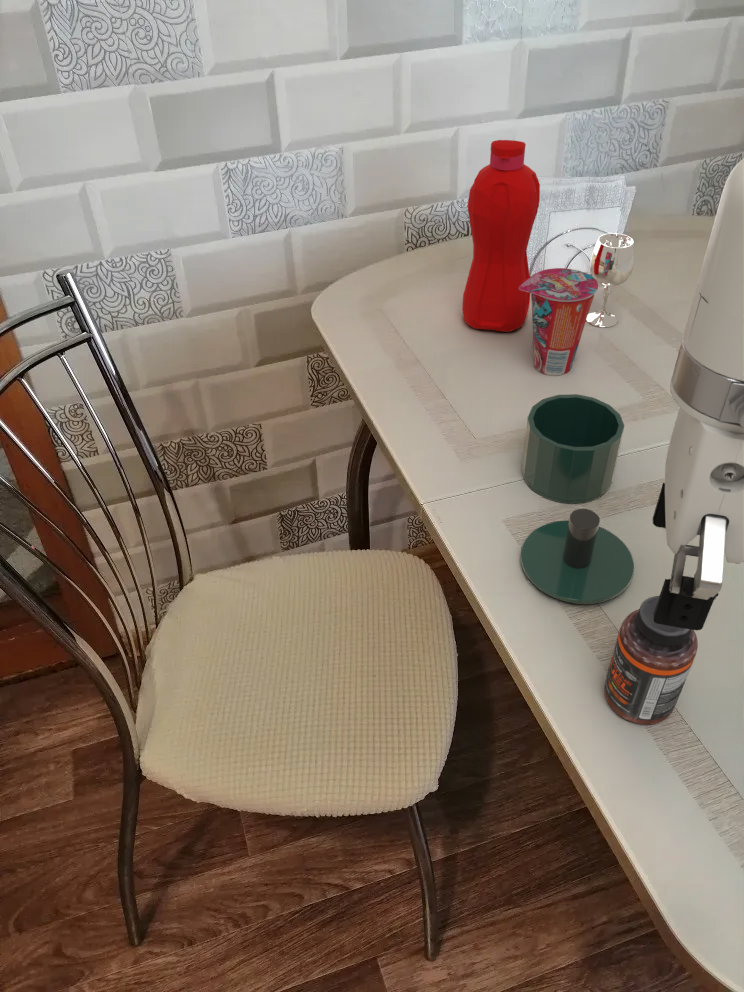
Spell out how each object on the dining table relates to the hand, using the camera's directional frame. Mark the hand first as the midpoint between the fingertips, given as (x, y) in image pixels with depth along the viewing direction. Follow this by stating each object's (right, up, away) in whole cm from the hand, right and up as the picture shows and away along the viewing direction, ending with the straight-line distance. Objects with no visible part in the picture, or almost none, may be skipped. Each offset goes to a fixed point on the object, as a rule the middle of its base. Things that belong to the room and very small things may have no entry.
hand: (674, 572), depth 58 cm
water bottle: (-4, +32, +59) cm, 68 cm away
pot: (0, +8, +32) cm, 33 cm away
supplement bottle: (+1, -12, +10) cm, 16 cm away
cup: (+2, +23, +49) cm, 54 cm away
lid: (-2, -1, +21) cm, 22 cm away
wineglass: (+11, +31, +58) cm, 66 cm away
